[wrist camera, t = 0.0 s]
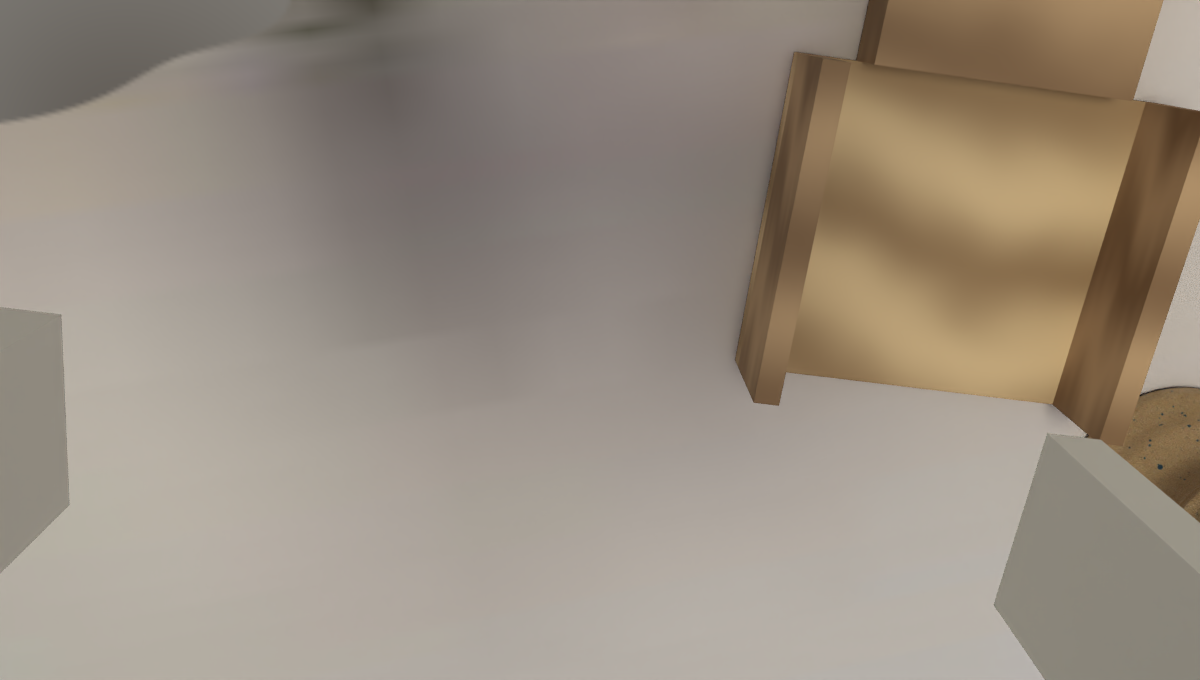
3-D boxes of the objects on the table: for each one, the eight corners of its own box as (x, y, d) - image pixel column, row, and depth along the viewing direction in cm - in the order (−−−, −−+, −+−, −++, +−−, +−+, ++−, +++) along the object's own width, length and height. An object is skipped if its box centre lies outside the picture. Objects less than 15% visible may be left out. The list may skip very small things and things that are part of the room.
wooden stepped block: (887, -434, 33) (936, -503, 29) (1304, -361, 34) (1415, -416, 30) (735, 359, 43) (753, 402, 38) (1065, 399, 44) (1122, 446, 39)
